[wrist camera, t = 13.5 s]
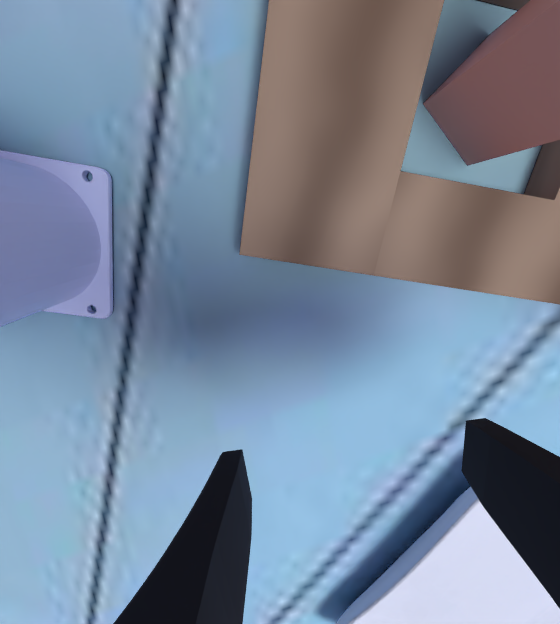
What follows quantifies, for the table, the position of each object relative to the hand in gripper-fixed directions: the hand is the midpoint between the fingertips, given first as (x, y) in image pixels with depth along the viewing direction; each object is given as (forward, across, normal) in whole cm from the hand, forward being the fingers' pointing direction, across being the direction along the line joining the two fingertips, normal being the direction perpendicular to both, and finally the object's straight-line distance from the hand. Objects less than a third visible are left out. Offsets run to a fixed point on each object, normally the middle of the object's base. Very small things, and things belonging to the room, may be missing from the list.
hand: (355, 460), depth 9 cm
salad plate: (+10, -13, +24) cm, 29 cm away
